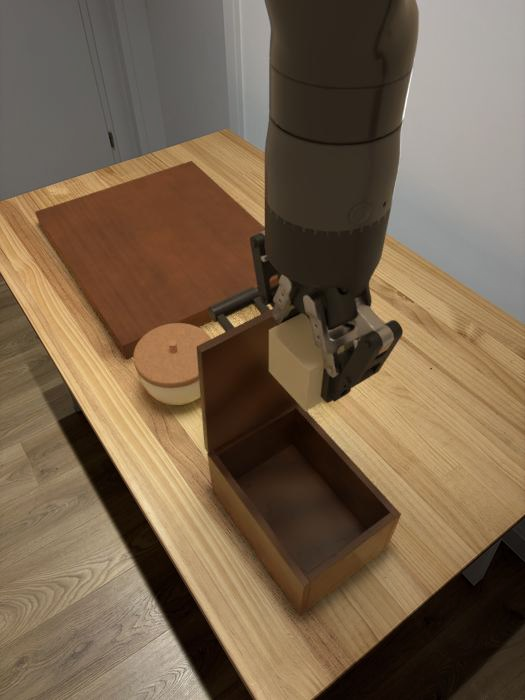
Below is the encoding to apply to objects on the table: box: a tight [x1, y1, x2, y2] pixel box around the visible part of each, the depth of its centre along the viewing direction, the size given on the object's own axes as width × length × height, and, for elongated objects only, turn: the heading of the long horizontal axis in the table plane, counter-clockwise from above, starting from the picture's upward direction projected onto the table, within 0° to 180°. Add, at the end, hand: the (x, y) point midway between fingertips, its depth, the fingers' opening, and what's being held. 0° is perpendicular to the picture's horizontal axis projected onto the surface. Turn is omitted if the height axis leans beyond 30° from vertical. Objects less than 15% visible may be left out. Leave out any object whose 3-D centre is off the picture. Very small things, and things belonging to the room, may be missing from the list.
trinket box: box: [132, 323, 212, 406], centre depth 75 cm, size 11×11×9 cm
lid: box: [196, 286, 296, 453], centre depth 57 cm, size 18×13×5 cm
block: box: [269, 313, 345, 412], centre depth 44 cm, size 5×5×5 cm
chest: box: [206, 402, 402, 616], centre depth 62 cm, size 18×13×9 cm
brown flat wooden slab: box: [34, 160, 278, 360], centre depth 98 cm, size 40×3×33 cm
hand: (311, 371), depth 45 cm, fingers closed on block, 5 cm apart
